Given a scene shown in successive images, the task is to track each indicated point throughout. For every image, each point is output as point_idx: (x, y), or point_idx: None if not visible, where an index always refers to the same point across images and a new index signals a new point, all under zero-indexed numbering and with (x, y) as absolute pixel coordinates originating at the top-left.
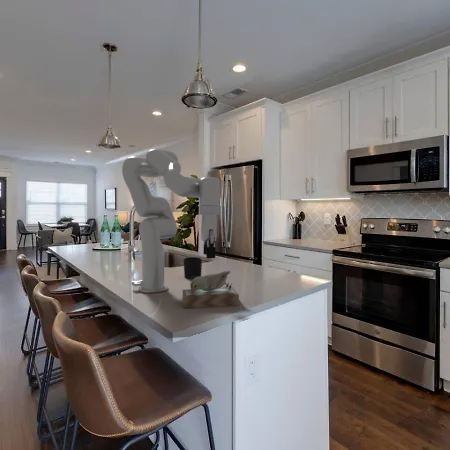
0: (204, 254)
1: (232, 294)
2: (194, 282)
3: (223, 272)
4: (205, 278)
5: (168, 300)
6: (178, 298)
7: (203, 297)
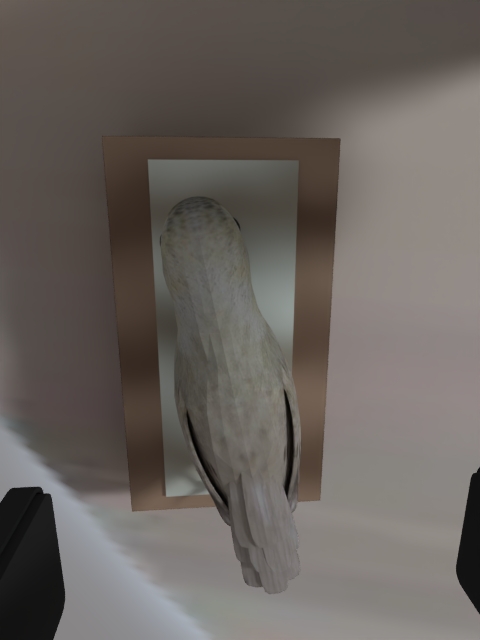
0: (478, 471)
1: (138, 476)
2: (163, 233)
3: (252, 527)
4: (191, 345)
5: (327, 38)
6: (361, 119)
7: (114, 286)
